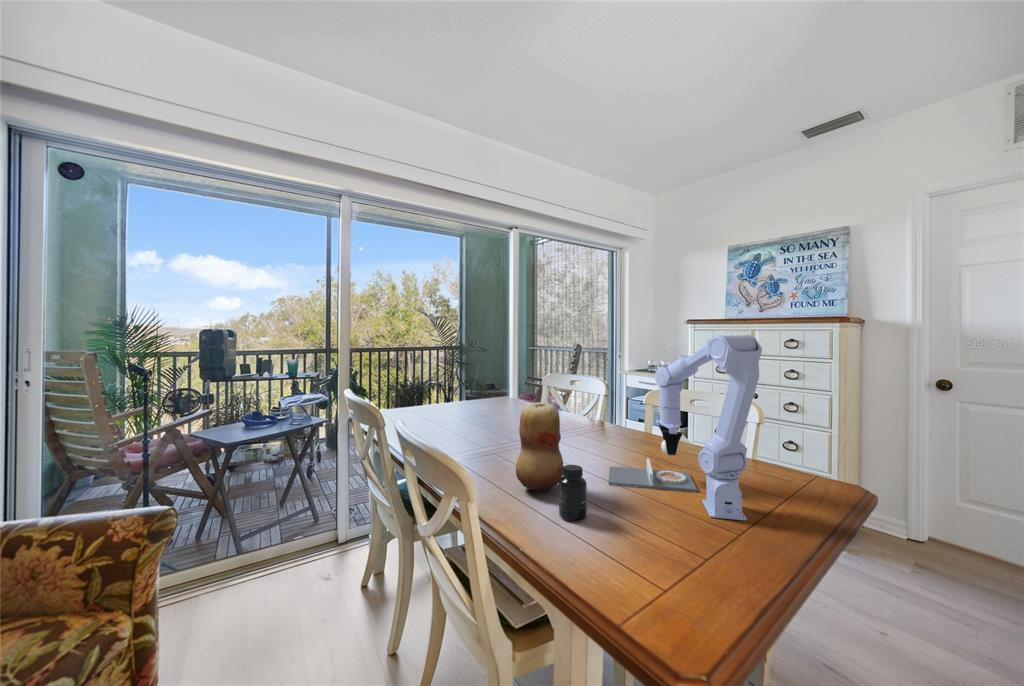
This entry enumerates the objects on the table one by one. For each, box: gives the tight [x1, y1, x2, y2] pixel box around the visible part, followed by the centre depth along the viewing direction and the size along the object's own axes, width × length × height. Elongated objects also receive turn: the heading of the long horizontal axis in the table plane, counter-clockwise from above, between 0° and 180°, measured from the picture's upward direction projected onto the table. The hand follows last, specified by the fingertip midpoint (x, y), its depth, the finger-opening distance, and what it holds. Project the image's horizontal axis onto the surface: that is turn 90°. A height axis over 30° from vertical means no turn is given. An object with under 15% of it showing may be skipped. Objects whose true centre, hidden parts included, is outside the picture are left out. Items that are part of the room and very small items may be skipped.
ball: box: [660, 440, 680, 457], centre depth 115 cm, size 5×5×5 cm
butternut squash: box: [515, 401, 564, 492], centre depth 111 cm, size 14×13×25 cm
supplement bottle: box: [558, 464, 588, 523], centre depth 94 cm, size 7×7×12 cm
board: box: [608, 458, 698, 493], centre depth 117 cm, size 14×24×4 cm, turn 74°
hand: (670, 451), depth 115 cm, fingers closed on ball, 5 cm apart
